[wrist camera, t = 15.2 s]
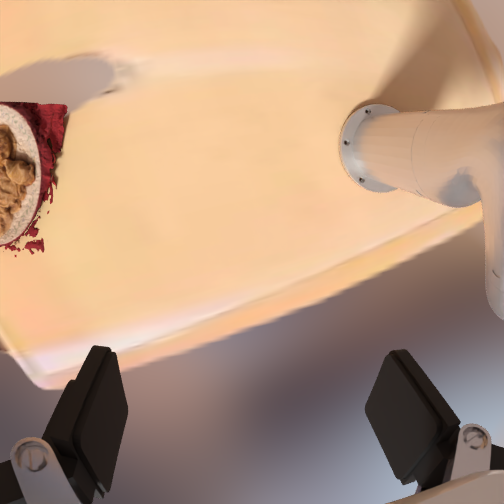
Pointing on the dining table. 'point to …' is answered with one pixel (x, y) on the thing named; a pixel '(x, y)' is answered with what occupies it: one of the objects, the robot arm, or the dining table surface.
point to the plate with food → (26, 166)
